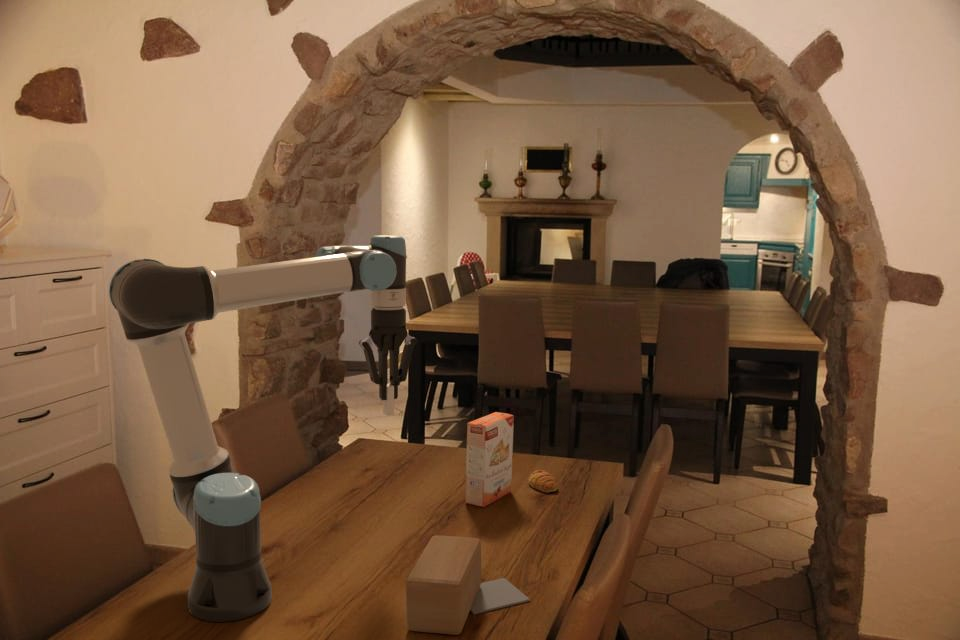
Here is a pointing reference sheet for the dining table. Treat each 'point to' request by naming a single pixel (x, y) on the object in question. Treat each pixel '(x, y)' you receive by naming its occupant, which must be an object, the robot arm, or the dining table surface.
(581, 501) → the dining table surface
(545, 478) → the pastry
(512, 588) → the felt pad
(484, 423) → the cracker box
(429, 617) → the wooden block
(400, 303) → the robot arm
